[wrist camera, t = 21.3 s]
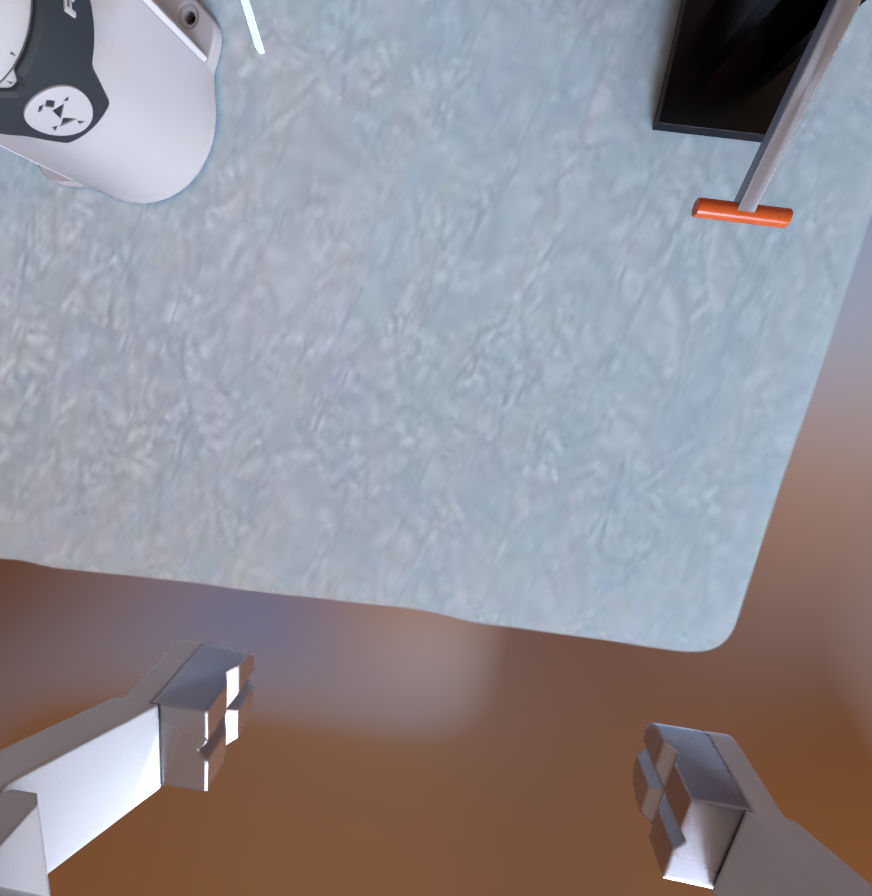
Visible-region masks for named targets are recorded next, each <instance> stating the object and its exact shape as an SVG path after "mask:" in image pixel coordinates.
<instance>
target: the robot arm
mask: <svg viewBox="0 0 872 896" xmlns="http://www.w3.org/2000/svg"><path fill="white" fill-rule="evenodd" d="M241 2H242V5H243V8H244V12H245V15H246V18H247V21H248V25H249V28H250V31H251V34H252V38H253V41H254V44H255V47H256V49H257V50H258V51H259V53H260V54H263V53H265V52H264V49H263V45H262V42H261V39H260V35H259V32H258V29H257V25H256V22H255V19H254V16H253V12H252V9H251V6H250V2H249V0H241ZM193 17H195V22H194V23H193V24H191V25H190V21H191V19H192V18H193ZM221 48H222V32H221V29H220V27H219V25H218V23H217V22H216V21H215V20H214V19H213V17H212V16H211V15H210V14H209V13H208V12H207V11H206V10H205V8H204V7H203V6H202V5H201V4H200V3H199V2H198V1H197V0H0V146H1V147H3V148H5V149H7V150H9V151H12V152H14V153H16V154H18V155H20V156H22V157H24V158H26V159H28V160H30V161H32V162H34V163H36V164H38V166H39V168H40V170H41V171H42V173H43V174H44V176H45V177H46V178H47V179H49V180H51V181H53V182H55V183H57V184H59V185H61V186H65V187H89V188H93V189H96V190H98V191H100V192H102V193H104V194H106V195H109V196H111V197H113V198H116V199H119V200H122V201H126V202H131V203H152V202H157V201H161V200H164V199H167V198H169V197H171V196H173V195H175V194H177V193H178V192H180V191H181V190H182V189H184V188H185V187H186V186H187V185H188V184H189V183H190V182H191V181H192V180H193V179H194V178H195V177H196V175H197V174H198V173H199V171H200V170H201V168H202V167H203V165H204V163H205V161H206V159H207V157H208V154H209V152H210V149H211V146H212V142H213V138H214V133H215V126H216V98H215V84H214V79H215V71H216V68H217V64H218V61H219V57H220V53H221ZM253 670H254V655H253V654H252V653H251V652H246V651H242V650H237V649H231V648H227V647H222V646H217V645H212V644H207V643H206V644H203V643H199V642H194V641H189V640H184V639H182V640H180V641H178V642H176V643H174V644H173V646H172V647H171V648H170V649H169V650H168V651H167V652H166V653H165V654H164V655H163V656H162V657H161V658H160V659H159V660H158V661H157V662H156V663H155V665H154V666H153V667H152V668H151V669H150V670H149V671H148V672H147V673H146V674H145V675H144V676H143V677H142V678H141V680H139V681H138V682H137V684H136V685H135V686H134V687H133V688H132V689H131V690H130V691H129V692H128V693H127V694H126V695H125V696H124V697H123V698H117V697H114V698H112V699H110V700H108V701H105V702H103V703H102V704H99V705H97V706H95V707H92V708H90V709H88V710H86V711H84V712H82V713H79V714H77V715H75V716H73V717H71V718H69V719H67V720H64V721H62V722H60V723H58V724H56V725H54V726H52V727H49V728H47V729H45V730H43V731H41V732H39V733H36V734H34V735H32V736H30V737H28V738H25V739H23V740H21V741H19V742H17V743H15V744H12V745H10V746H8V747H6V748H4V749H2V750H0V896H51V895H50V888H49V881H48V873H49V872H51V871H52V870H53V869H54V868H56V867H57V866H58V865H60V864H61V863H62V862H64V861H65V860H66V859H68V858H69V857H70V856H71V855H73V854H74V853H75V852H77V851H78V850H79V849H81V848H82V847H83V846H85V845H86V844H87V843H88V842H90V841H91V840H92V839H94V838H95V837H96V836H98V835H99V834H100V833H102V832H103V831H104V830H106V829H107V828H108V827H110V826H111V825H112V824H113V823H115V822H116V821H117V820H119V819H120V818H121V817H123V816H124V815H125V814H127V813H128V812H129V811H130V810H132V809H133V808H134V807H136V806H137V805H138V804H139V803H141V802H142V801H143V800H145V799H146V798H148V797H149V796H150V795H151V794H153V793H154V792H155V791H157V790H158V789H159V788H160V787H161V784H162V785H167V786H174V787H180V788H187V789H194V790H200V791H207V790H208V788H209V786H210V784H211V783H212V781H213V779H214V777H215V775H216V774H217V772H218V770H219V769H220V767H221V765H222V764H223V762H224V760H225V759H226V745H227V744H228V743H230V742H231V741H233V740H235V739H236V738H238V736H239V734H240V732H241V730H242V728H243V727H244V725H245V722H246V720H247V717H248V714H249V712H250V708H251V704H252V699H253V685H252V684H251V683H250V681H249V679H248V678H249V676H250V674H251V673H252V671H253ZM643 739H644V742H645V744H646V747H647V748H646V749H645V750H643V751H642V752H641V753H639V754H638V755H637V757H636V761H635V764H634V768H633V786H634V792H635V798H636V801H637V804H638V806H639V810H640V812H641V813H642V814H643V815H644V816H645V817H646V819H647V820H648V821H649V822H650V823H651V824H652V828H651V831H650V834H649V839H650V842H651V845H652V848H653V851H654V853H655V856H656V859H657V862H658V865H659V868H660V871H661V874H662V876H663V878H667V879H671V880H676V881H680V882H684V883H689V884H693V885H698V886H703V887H707V888H711V889H713V890H712V892H713V893H714V895H715V896H872V885H871V884H869V883H868V882H867V881H866V880H865V879H863V878H862V877H861V876H860V875H858V874H857V873H856V872H855V871H854V870H853V869H851V868H850V867H849V866H848V865H847V864H845V863H844V862H843V861H842V860H841V859H839V858H838V857H837V856H836V855H835V854H834V853H832V852H831V851H830V850H829V849H828V848H826V847H825V846H824V845H823V844H822V843H820V842H819V841H818V840H817V839H816V838H814V837H813V836H812V835H811V834H810V833H808V832H807V831H806V830H805V829H804V828H803V827H801V826H800V825H799V824H798V823H796V822H795V821H794V820H790V819H785V818H784V816H783V814H782V813H781V811H780V810H779V808H778V806H777V805H776V803H775V802H774V800H773V798H772V797H771V796H770V794H769V792H768V791H767V789H766V788H765V786H764V785H763V783H762V781H761V780H760V778H759V776H758V775H757V773H756V772H755V770H754V769H753V767H752V765H751V764H750V762H749V761H748V759H747V758H746V756H745V755H744V753H743V752H742V750H741V748H740V747H739V745H738V744H737V742H736V741H735V740H734V739H733V738H732V737H731V736H730V735H727V734H721V733H715V732H708V731H699V730H694V729H688V728H682V727H676V726H669V725H664V724H658V723H652V722H651V723H650V724H649V725H648V726H647V727H646V729H645V732H644V735H643Z"/></svg>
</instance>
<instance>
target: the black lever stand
mask: <svg viewBox="0 0 872 896" xmlns="http://www.w3.org/2000/svg"><path fill="white" fill-rule="evenodd" d="M828 1H829V0H682V2H681V6H680V10H679V15H678V19H677V24H676V28H675V33H674V37H673V41H672V46H671V50H670V55H669V59H668V64H667V68H666V73H665V77H664V81H663V86H662V90H661V95H660V99H659V104H658V108H657V113H656V117H655V121H654V126H653V130H661V131H669V132H678V133H686V134H695V135H704V136H712V137H721V138H730V139H738V140H747V141H755V142H762V141H763V138H764V136H765V134H766V132H767V130H768V128H769V126H770V124H771V122H772V119H773V117H774V115H775V113H776V111H777V109H778V107H779V105H780V102H781V100H782V98H783V96H784V94H785V92H786V90H787V88H788V85H789V83H790V81H791V79H792V77H793V75H794V73H795V71H796V68H797V66H798V64H799V62H800V60H801V58H802V56H803V54H804V51H805V49H806V47H807V45H808V43H809V41H810V39H811V37H812V34H813V32H814V30H815V28H816V26H817V24H818V22H819V20H820V17H821V15H822V13H823V11H824V9H825V7H826V5H827V3H828ZM865 1H866V0H861V2H860V4H859V6H860V5H861V4H862V3H863V2H865ZM859 6H858V7H859Z"/></svg>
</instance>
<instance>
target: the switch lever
mask: <svg viewBox="0 0 872 896" xmlns="http://www.w3.org/2000/svg"><path fill="white" fill-rule="evenodd" d="M860 2H861V0H829V1H828V3H827V5H826V7H825V9H824V11H823V13H822V15H821V17H820V20H819V22H818V24H817V26H816V28H815V30H814V32H813V34H812V37H811V39H810V41H809V43H808V45H807V47H806V49H805V51H804V54H803V56H802V58H801V60H800V62H799V64H798V66H797V68H796V71H795V73H794V75H793V77H792V79H791V81H790V83H789V85H788V88H787V90H786V92H785V94H784V96H783V98H782V100H781V102H780V105H779V107H778V109H777V111H776V113H775V115H774V117H773V119H772V122H771V124H770V126H769V128H768V130H767V132H766V134H765V136H764V138H763V141H762V143H761V145H760V147H759V149H758V151H757V153H756V155H755V158H754V160H753V162H752V164H751V166H750V168H749V170H748V172H747V175H746V177H745V179H744V181H743V183H742V185H741V187H740V189H739V192H738V194H737V196H736V198H735V200H734V202H732V201H724V200H716V199H708V198H698V199H697V200H696V201H695V203H694V205H693V208H692V216H693V217H699V218H707V219H715V220H723V221H731V222H739V223H747V224H755V225H763V226H771V227H779V228H784V227H786V226H787V225H788V224H789V222H790V220H791V218H792V215H793V210H792V209H789V208H781V207H773V206H765V205H758V204H759V202H760V200H761V198H762V196H763V194H764V192H765V190H766V188H767V186H768V184H769V182H770V180H771V178H772V176H773V174H774V172H775V170H776V168H777V166H778V164H779V162H780V161H781V159H782V157H783V155H784V153H785V151H786V149H787V147H788V145H789V143H790V141H791V139H792V137H793V135H794V133H795V131H796V129H797V127H798V125H799V123H800V121H801V119H802V117H803V115H804V113H805V111H806V109H807V107H808V105H809V103H810V101H811V99H812V97H813V95H814V93H815V91H816V89H817V87H818V85H819V83H820V81H821V79H822V77H823V76H824V74H825V72H826V70H827V68H828V66H829V64H830V62H831V60H832V58H833V56H834V54H835V52H836V50H837V48H838V46H839V44H840V42H841V40H842V38H843V36H844V34H845V32H846V30H847V28H848V26H849V24H850V22H851V20H852V18H853V16H854V14H855V12H856V10H857V8H858V6H859V4H860Z"/></svg>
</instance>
